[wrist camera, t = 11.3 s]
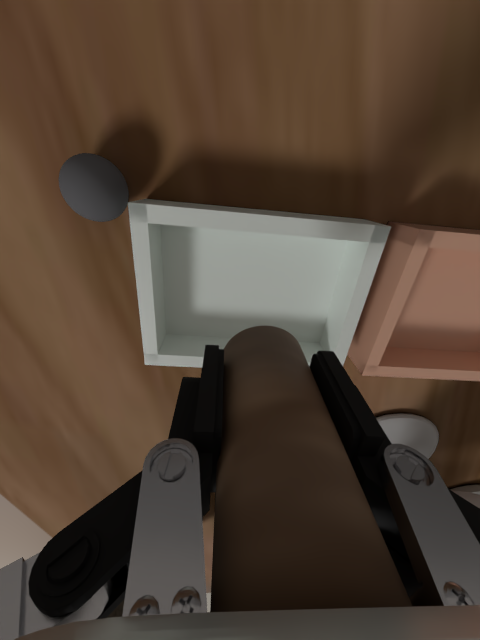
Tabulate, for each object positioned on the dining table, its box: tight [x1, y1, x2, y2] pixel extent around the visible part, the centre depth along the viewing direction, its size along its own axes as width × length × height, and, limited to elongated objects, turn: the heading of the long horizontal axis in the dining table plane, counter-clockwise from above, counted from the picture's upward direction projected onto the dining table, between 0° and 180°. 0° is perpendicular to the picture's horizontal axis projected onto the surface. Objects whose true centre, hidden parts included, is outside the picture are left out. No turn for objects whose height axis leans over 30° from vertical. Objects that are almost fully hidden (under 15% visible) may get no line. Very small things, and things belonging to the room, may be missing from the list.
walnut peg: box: [210, 326, 413, 612], centre depth 8 cm, size 4×4×8 cm
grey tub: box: [128, 199, 391, 368], centre depth 19 cm, size 15×11×4 cm
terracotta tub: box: [347, 221, 480, 381], centre depth 20 cm, size 15×11×4 cm
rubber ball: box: [59, 153, 129, 222], centre depth 15 cm, size 4×4×4 cm
